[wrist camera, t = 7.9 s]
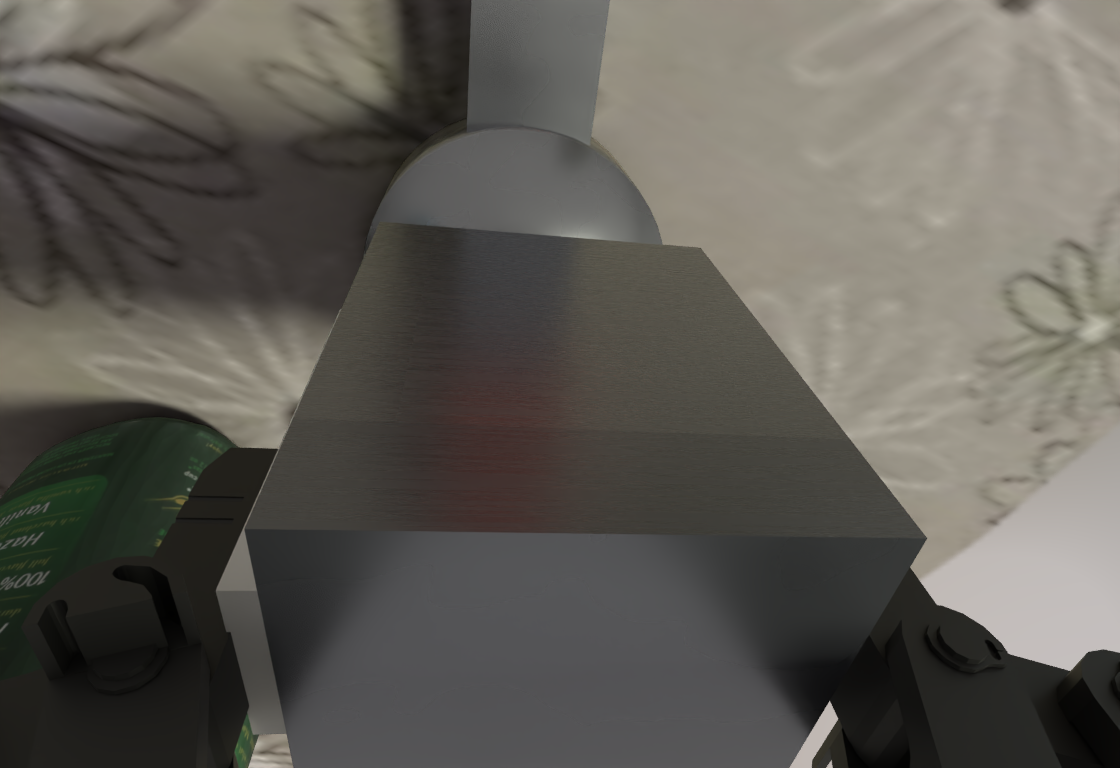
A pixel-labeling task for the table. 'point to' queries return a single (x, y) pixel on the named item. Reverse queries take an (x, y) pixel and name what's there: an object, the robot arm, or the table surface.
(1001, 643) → the robot arm
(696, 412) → the grey rectangular block
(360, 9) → the table surface
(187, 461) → the coffee jar
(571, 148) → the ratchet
